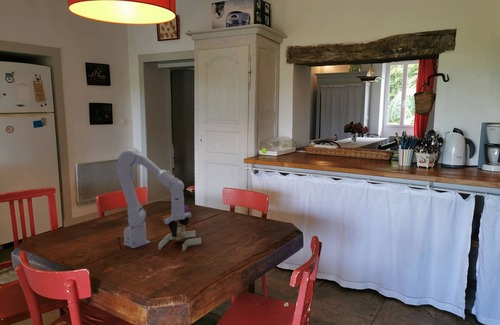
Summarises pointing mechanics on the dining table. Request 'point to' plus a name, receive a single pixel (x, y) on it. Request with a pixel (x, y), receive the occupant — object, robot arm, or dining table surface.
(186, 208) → the kendama
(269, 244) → the dining table surface
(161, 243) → the rail track
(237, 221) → the dining table surface
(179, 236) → the maple block
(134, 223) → the robot arm
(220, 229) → the dining table surface
